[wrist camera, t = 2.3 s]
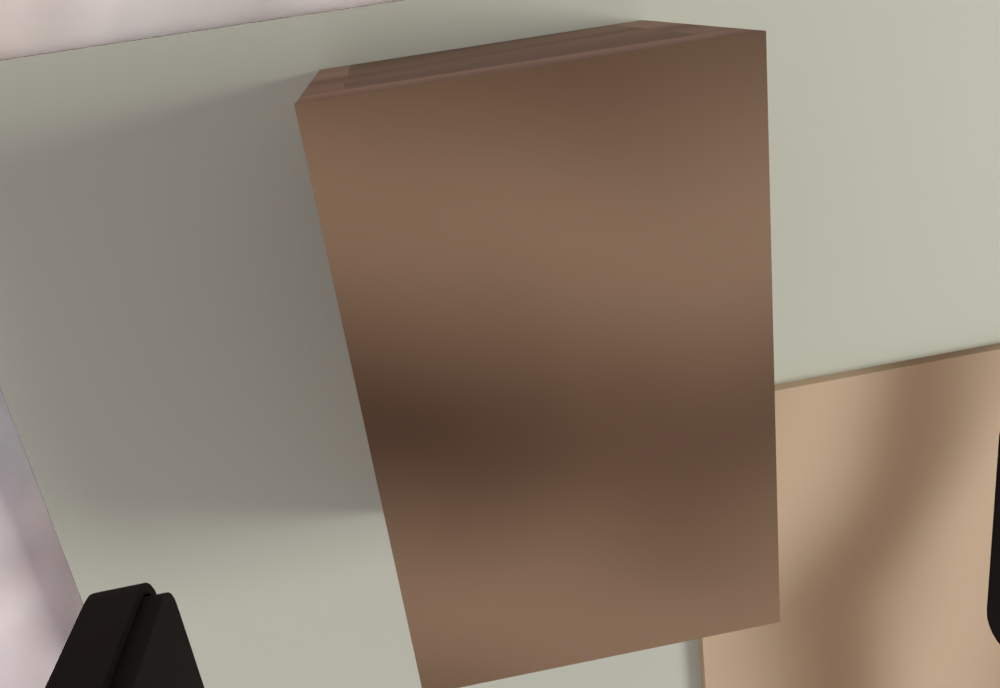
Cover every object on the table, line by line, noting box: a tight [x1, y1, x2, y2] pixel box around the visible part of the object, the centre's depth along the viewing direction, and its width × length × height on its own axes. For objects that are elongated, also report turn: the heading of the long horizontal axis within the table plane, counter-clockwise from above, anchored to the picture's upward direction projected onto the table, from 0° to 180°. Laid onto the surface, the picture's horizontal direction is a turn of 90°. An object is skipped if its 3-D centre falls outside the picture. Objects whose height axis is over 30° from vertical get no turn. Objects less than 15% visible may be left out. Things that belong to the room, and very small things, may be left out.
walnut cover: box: [294, 20, 780, 688], centre depth 17 cm, size 10×6×6 cm, turn 8°
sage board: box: [0, 0, 1000, 688], centre depth 22 cm, size 26×21×1 cm
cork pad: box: [699, 343, 1000, 688], centre depth 23 cm, size 9×11×1 cm
